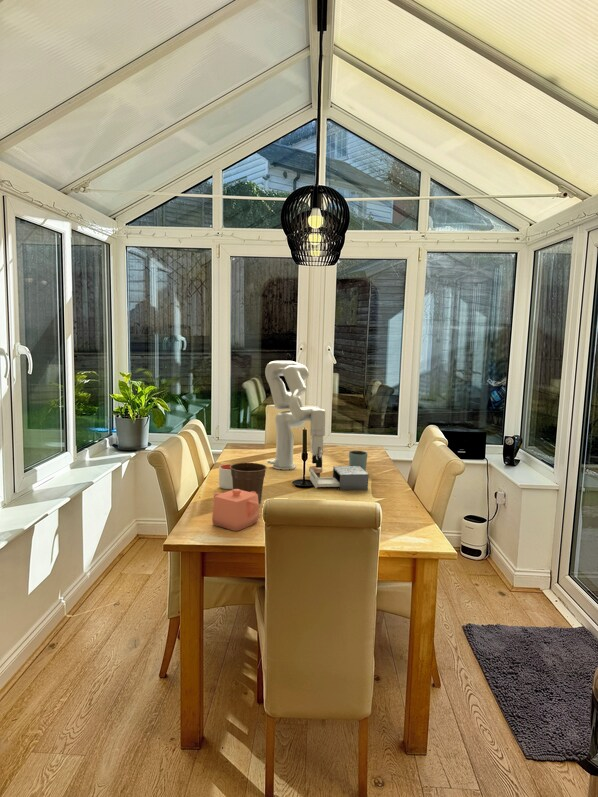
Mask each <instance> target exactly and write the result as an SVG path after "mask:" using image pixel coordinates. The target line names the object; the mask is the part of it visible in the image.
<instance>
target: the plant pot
mask: <svg viewBox="0 0 598 797" xmlns="http://www.w3.org/2000/svg"><path fill="white" fill-rule="evenodd" d="M230 465H231V466H230V469H231V476H232V481H233V489H240V490H243V491H247V492H251V491H254V492H256V494H258V503H259V505H260V504H261V502H262V495H263V487H264V478H265V477H266V471H267V469H268V467H267V465H265V464H261V463H257V462H237V463H232V464H230ZM233 489H232V490H233Z"/></svg>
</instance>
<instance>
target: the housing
mask: <svg viewBox="0 0 598 797" xmlns="http://www.w3.org/2000/svg"><path fill="white" fill-rule="evenodd" d="M369 476H370V475H369V473H368V472H367V470H366V471H364V470H363V469H362V468H361V467H360V466H349V465H343V466H342V465H334V466H332V477H335V479H337V480H338V482H339V483H340V487H338V488H339V489H340V490H347V491H368V490H369ZM338 488H337V489H338ZM339 489H338V490H339ZM340 490H339V491H340Z"/></svg>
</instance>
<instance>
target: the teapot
mask: <svg viewBox="0 0 598 797" xmlns="http://www.w3.org/2000/svg"><path fill="white" fill-rule="evenodd" d="M213 497H214V499H213V506H212V507H213V508H212V514H211V515H212V516H211V517H212V519H211V520H212V524H213V526H217V527H219V528H224V529H226V530H227V529H228V530H230V531H234V532H237V531H240V530H244V529H246V528H248V527H249V526H252V525H254V524H256V523H257V522H258V521H259V517H260V504H259V503H258V494H256V492H254V491H251V492H247V491H243V490H240V489H229V490H228V491H225V492H216V493H214V494H213Z"/></svg>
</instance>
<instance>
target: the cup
mask: <svg viewBox="0 0 598 797" xmlns="http://www.w3.org/2000/svg"><path fill="white" fill-rule="evenodd" d="M231 465H232V464H222V465H220V466H218V468H219V469H218V470H219V471H218V472H219V473H218V474H219V475H218V486H219V488H221V489H223V490H233V481H232V476H231V469H230V466H231Z"/></svg>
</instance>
